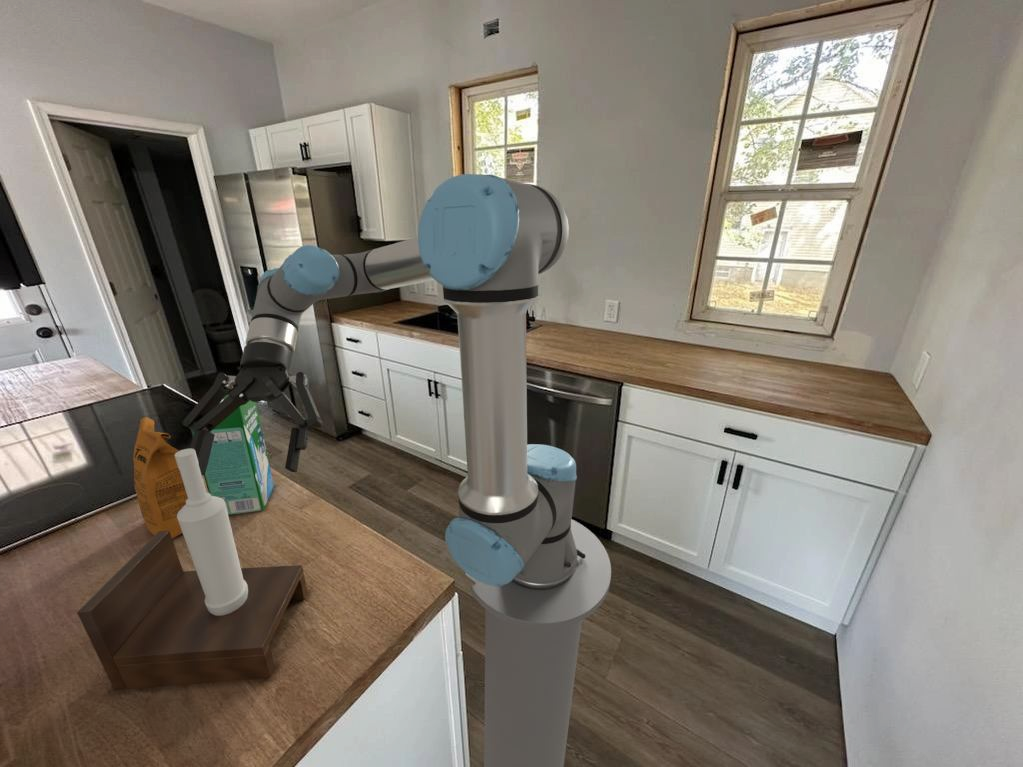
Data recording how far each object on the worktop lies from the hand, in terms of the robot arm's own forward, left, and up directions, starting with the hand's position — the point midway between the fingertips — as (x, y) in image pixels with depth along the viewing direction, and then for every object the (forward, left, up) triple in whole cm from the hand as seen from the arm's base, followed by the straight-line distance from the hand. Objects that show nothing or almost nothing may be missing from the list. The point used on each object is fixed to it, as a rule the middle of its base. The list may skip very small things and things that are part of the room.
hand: (244, 472), depth 63 cm
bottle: (+1, +9, -16) cm, 19 cm away
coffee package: (+25, -17, -22) cm, 37 cm away
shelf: (+2, +10, -22) cm, 24 cm away
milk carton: (+15, -23, -22) cm, 35 cm away
